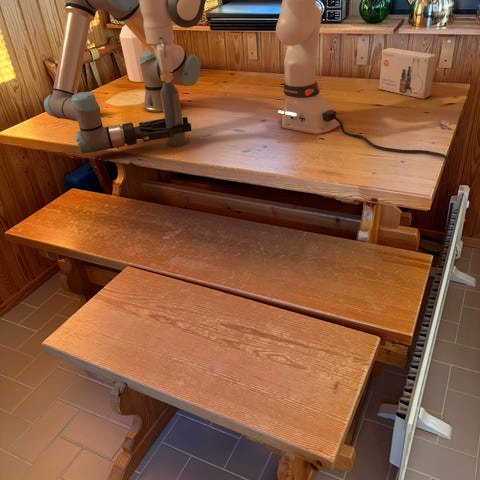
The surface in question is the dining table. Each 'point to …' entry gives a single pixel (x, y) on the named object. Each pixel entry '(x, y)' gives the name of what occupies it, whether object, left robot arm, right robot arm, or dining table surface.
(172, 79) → the cap
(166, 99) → the bottle
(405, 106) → the dining table surface
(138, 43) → the container
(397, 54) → the skincare box
